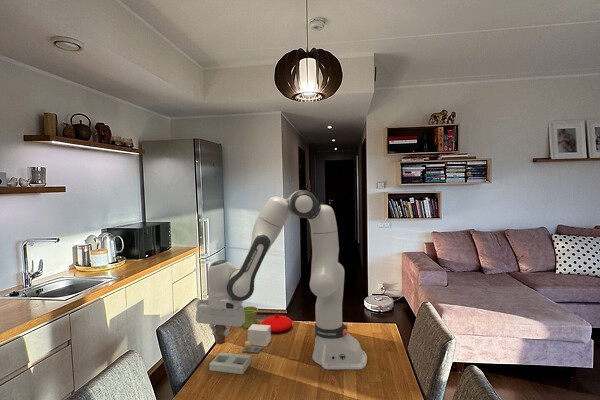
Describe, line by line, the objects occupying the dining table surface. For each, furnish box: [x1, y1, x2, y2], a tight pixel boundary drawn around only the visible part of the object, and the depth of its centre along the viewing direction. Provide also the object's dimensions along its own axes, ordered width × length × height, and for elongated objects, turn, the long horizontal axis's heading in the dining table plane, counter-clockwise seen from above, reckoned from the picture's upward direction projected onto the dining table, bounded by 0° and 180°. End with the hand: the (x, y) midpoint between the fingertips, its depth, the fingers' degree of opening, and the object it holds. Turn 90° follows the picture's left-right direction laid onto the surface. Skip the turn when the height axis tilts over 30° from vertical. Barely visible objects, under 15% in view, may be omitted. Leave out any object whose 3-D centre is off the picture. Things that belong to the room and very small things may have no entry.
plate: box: [241, 340, 263, 355], centre depth 141 cm, size 7×4×4 cm, turn 77°
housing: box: [247, 323, 272, 347], centre depth 149 cm, size 9×6×7 cm, turn 77°
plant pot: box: [242, 306, 259, 329], centre depth 167 cm, size 9×9×9 cm
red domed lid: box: [260, 313, 293, 333], centre depth 163 cm, size 16×16×7 cm
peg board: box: [208, 352, 252, 375], centre depth 129 cm, size 14×9×2 cm, turn 77°
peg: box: [215, 324, 226, 345], centre depth 130 cm, size 4×4×8 cm
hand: (220, 334), depth 130 cm, fingers closed on peg, 4 cm apart
